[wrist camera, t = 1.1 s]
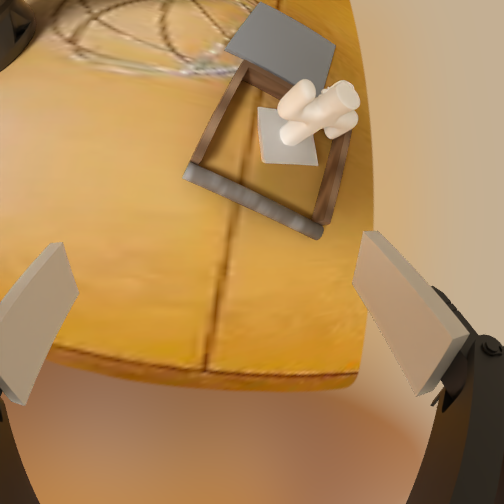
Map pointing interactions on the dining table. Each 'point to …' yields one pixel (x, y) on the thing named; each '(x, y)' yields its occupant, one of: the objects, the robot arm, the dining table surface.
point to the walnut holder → (251, 198)
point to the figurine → (305, 121)
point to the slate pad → (283, 47)
